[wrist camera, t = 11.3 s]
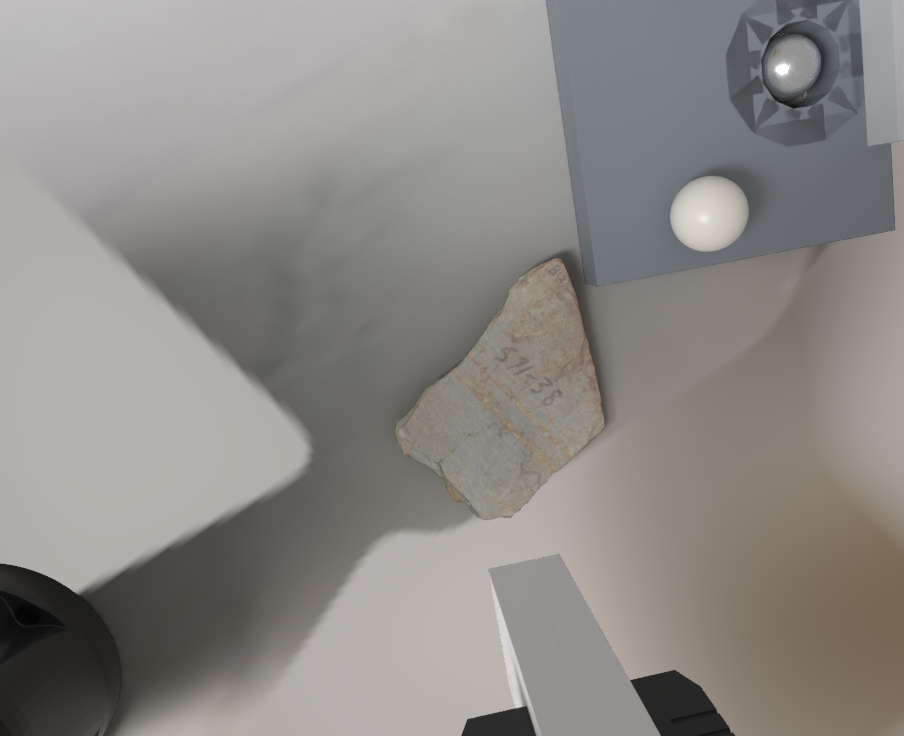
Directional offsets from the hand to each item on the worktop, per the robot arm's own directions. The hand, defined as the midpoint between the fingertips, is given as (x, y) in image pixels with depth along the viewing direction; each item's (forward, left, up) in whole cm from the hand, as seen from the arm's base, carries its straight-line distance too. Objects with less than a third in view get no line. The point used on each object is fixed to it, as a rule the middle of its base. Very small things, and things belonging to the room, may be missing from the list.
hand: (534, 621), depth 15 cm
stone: (+3, -3, -30) cm, 30 cm away
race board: (+19, +13, -29) cm, 37 cm away
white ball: (+16, +6, -25) cm, 30 cm away
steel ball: (+23, +13, -28) cm, 38 cm away
